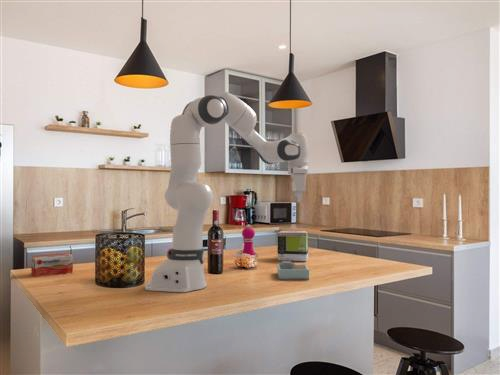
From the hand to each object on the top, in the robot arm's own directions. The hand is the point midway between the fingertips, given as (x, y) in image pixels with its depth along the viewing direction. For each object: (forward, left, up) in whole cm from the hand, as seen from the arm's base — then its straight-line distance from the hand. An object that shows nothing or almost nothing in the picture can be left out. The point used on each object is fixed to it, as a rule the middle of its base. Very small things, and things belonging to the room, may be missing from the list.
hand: (298, 201), depth 180 cm
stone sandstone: (-1, -10, -30) cm, 32 cm away
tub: (-3, -8, -31) cm, 32 cm away
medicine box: (-106, -6, -32) cm, 110 cm away
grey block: (-5, -6, -30) cm, 32 cm away
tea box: (+1, +34, -31) cm, 46 cm away
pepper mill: (-22, +12, -31) cm, 40 cm away
